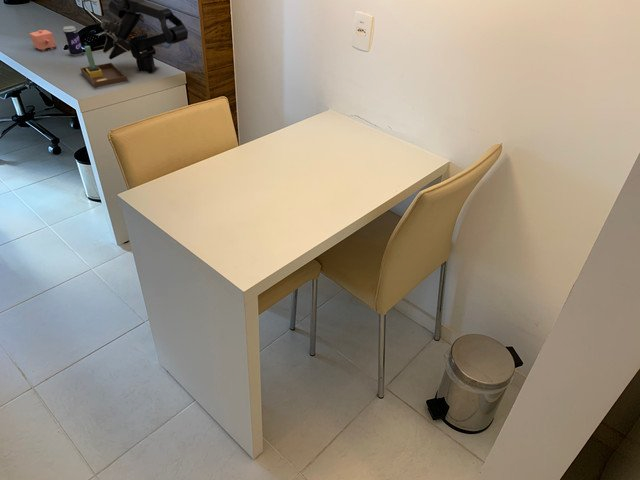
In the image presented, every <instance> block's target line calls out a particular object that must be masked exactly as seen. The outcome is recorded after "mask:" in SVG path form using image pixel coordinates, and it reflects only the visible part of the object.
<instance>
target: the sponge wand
mask: <svg viewBox="0 0 640 480" xmlns="http://www.w3.org/2000/svg"><path fill="white" fill-rule="evenodd" d="M83 49H84V52H85V55H86V58H87V62H88V66H86V67H87V68H86V71H87V74H88V75H89V76H90V77H91V78H95V77H101V76H103V75H102V71H101V69H100V68H99V67H98V66H97V65H98V64H96V63H95V59H94V56H93V52H92V49H91V45H84V48H83Z"/></svg>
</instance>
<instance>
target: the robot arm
mask: <svg viewBox="0 0 640 480" xmlns="http://www.w3.org/2000/svg"><path fill="white" fill-rule="evenodd" d="M107 8H108V10H109V11H110V12H112V14H113V15H115V16H116V17H117V18H119V19H120V20H117V21H116V22H114V21H111V20H108V19H105V18H101V22H100V26H99V27H100V28H102V30H104V36H105V42H104V46H103V49H102V52H103V53H107V52H108V51H110V52H109V53H110V54H109V55H108V59H109V60H113V59H115V58H117V57H119V56H121V55H122V54H125V53H127V52H130V53H131V55H132V58H134V59H135V62H136V67H137V72H143V73H148V74H152V73H153V72H154V71H155V70H156V69H158V67H157V66H156V64H155V58H154V55H156V54H157V52H156V48H155V46H158V45H162V44H169V45H174V44H177V43H180V42H183V41H186V40H187V39H188V38H189V31H188V29H187V27H186V26H185V24H184V23H183V21H182V20H181V19H180V18H179V17H177V16H176V15H175V14H174V13H173V12H172V10H171V9H170V8H168V7H164V6H160V5H157V4H154V3H151V2H148V1H145V0H110V1H109V3H108V7H107ZM144 15H146V16H148V17H151V18H155V19H157V20H158V21H159V22H160V27H161V33H158V34H154V35H151V36H149V35H148V33H147V32H145V33H142V34H138V35H134V36H131V37H130V35H133V34H134V29H136V28H135V27H137V25H138V23H139V22H141V23H143V24H144V23H145V19H144ZM167 20H168V21H169V22H170V23H172V24H173V25H174V26H172V27H168V25H167Z"/></svg>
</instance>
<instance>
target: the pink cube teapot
mask: <svg viewBox="0 0 640 480" xmlns="http://www.w3.org/2000/svg"><path fill="white" fill-rule="evenodd" d="M29 35H30V36H29V37H30V39H31V42H32V44H33V46H34V48H36V49H37V50H41V51H42V52H44V51H46V49H50V50H54V48H55V47H57V43H56V41H55V38H54V34H53V32H52V31H49V30H47V29H39V30H37V31H33V32H29Z"/></svg>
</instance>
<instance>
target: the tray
mask: <svg viewBox="0 0 640 480" xmlns="http://www.w3.org/2000/svg"><path fill="white" fill-rule="evenodd" d="M96 65H97V66H98V67H99V68H100V69H101V71H102V75H103V76H101V77H95V78H91V77H90V76H89V75H88V74H87V71H86V68H87V67H88V66H86V67H80V72H81V74H82V75H83V77H85V78H86V80H87V81H88V82H89V83H90V84H91V85H92V86H93V87H94V88H100V87H104V86H110V85H115V84H119V83H125V82H128V77H127V75H126V74H125V73H123V72H122V71H121V69H119V68H118V67H117V66H116V65H115V64H114V63H113V62H106V63H102V64H96ZM105 78H106V79H107V80H102V81H96V80H100V79H105Z"/></svg>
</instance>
